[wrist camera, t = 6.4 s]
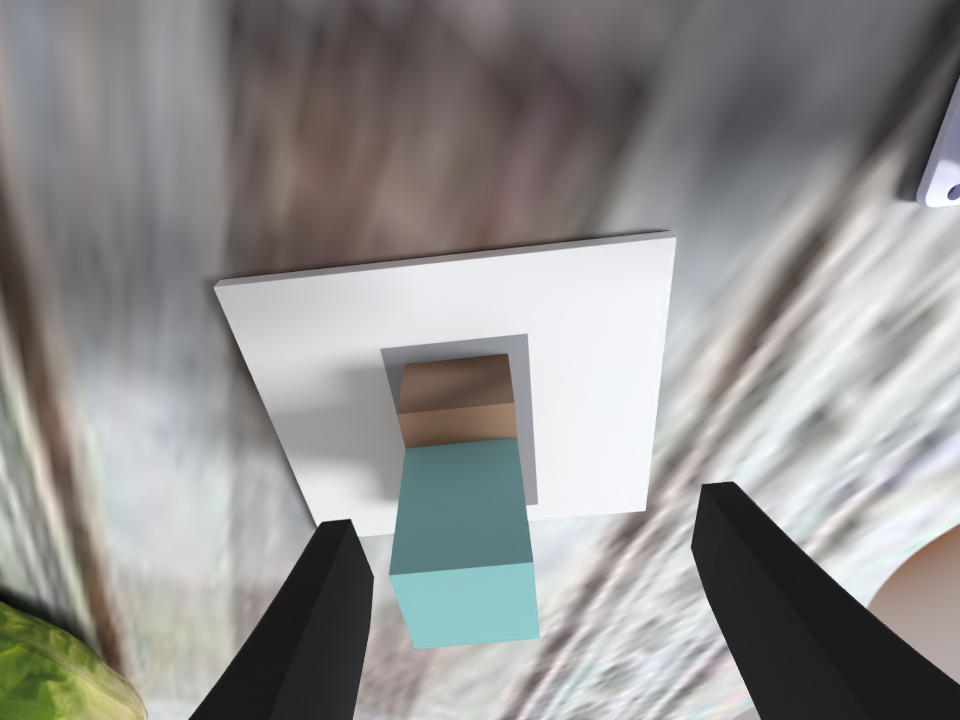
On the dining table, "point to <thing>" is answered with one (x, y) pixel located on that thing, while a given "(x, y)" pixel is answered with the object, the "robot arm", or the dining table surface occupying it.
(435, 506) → the teal block
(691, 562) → the dining table surface
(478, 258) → the plate
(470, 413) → the base brick
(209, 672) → the dining table surface
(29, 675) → the lettuce
